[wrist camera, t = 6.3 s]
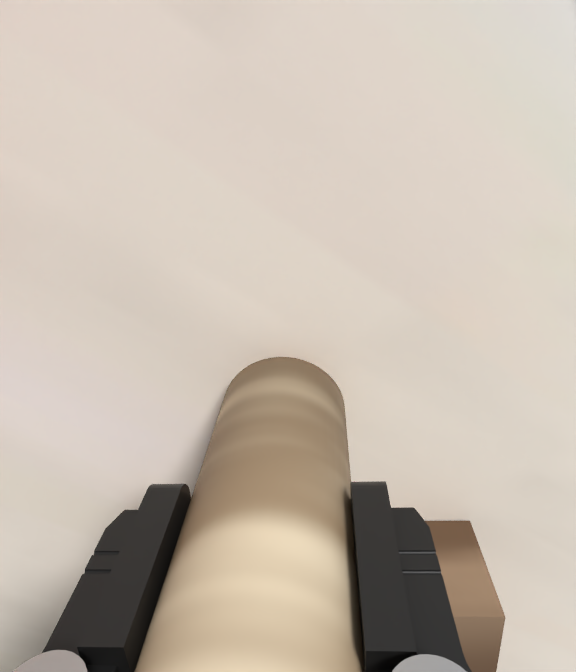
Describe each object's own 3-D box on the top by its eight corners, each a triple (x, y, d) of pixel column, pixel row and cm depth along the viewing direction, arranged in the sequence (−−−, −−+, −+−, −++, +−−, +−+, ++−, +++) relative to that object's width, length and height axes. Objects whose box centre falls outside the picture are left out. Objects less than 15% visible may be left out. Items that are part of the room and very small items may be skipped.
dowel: (216, 359, 14) (-151, 1257, 3) (343, 355, 14) (441, 1328, 3) (230, 461, 15) (14, 1323, 4) (345, 459, 15) (416, 1373, 4)
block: (120, 522, 18) (77, 613, 15) (469, 521, 17) (505, 617, 14) (165, 698, 22) (139, 799, 19) (449, 704, 21) (472, 811, 18)
